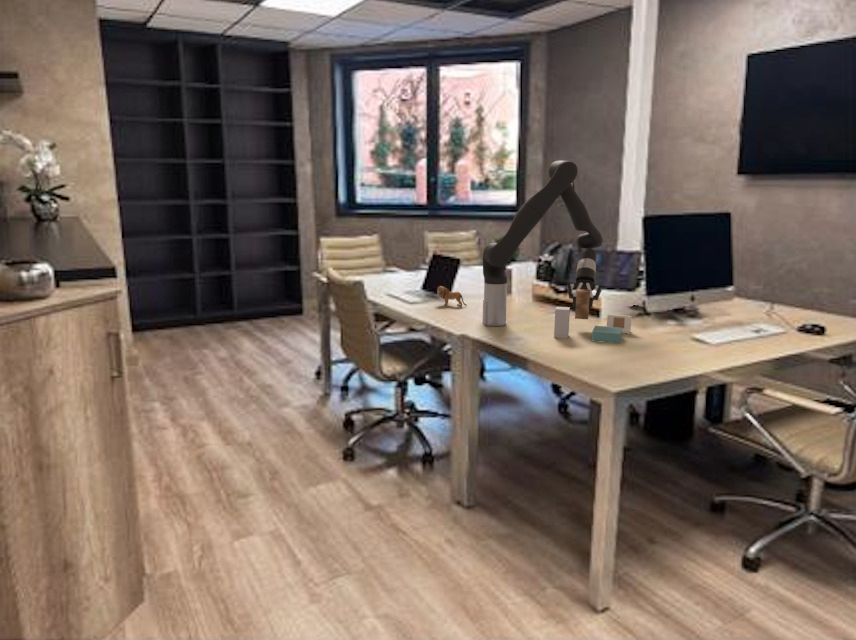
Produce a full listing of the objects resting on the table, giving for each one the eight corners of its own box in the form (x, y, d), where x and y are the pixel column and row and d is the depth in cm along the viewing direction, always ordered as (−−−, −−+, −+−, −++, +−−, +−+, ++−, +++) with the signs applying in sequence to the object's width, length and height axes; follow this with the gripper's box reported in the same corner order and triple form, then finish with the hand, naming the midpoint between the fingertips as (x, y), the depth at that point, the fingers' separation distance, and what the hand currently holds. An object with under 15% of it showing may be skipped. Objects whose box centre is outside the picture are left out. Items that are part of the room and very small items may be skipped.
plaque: (606, 332, 252) (607, 315, 250) (606, 329, 255) (607, 313, 254) (630, 333, 249) (631, 317, 248) (630, 331, 253) (631, 315, 251)
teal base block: (591, 342, 239) (592, 331, 238) (594, 335, 248) (595, 325, 247) (619, 344, 235) (620, 333, 235) (621, 338, 245) (622, 327, 244)
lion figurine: (435, 305, 303) (435, 286, 301) (439, 303, 308) (439, 284, 306) (465, 307, 298) (465, 288, 296) (468, 305, 303) (468, 286, 301)
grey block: (554, 337, 244) (555, 309, 241) (555, 334, 249) (556, 306, 246) (567, 338, 242) (568, 309, 240) (568, 335, 247) (569, 307, 245)
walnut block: (574, 318, 253) (576, 290, 251) (575, 315, 258) (577, 288, 255) (587, 319, 252) (589, 291, 249) (588, 316, 257) (590, 289, 254)
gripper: (567, 265, 259) (563, 300, 251) (604, 267, 256) (601, 302, 247) (568, 276, 266) (563, 311, 257) (603, 278, 262) (600, 313, 253)
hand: (582, 306), depth 252 cm, fingers closed on walnut block, 5 cm apart
